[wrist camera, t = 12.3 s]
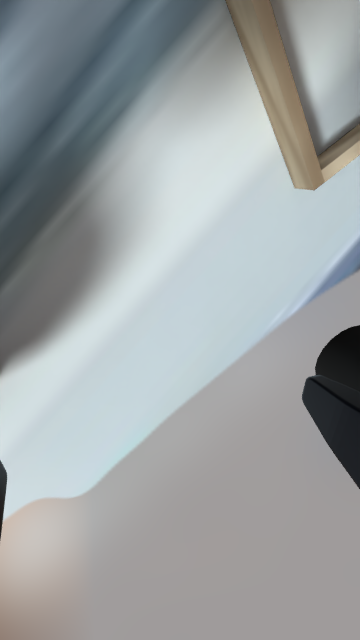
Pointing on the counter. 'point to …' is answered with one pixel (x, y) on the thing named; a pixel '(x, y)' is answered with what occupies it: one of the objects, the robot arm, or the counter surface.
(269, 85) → the frame
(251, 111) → the counter surface
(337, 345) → the wine bottle
